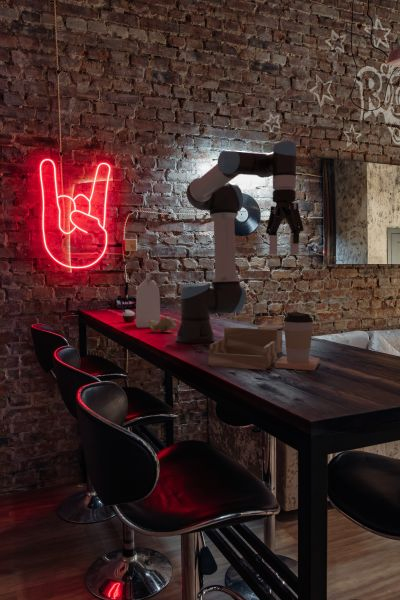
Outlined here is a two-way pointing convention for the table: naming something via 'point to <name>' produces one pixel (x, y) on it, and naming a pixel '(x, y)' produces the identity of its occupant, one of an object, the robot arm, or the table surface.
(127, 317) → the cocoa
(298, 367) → the terracotta tile
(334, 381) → the table surface
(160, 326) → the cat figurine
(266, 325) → the teacup with lid
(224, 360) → the frame
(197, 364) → the table surface
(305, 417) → the table surface
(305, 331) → the coffee cup
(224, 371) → the table surface
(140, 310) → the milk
